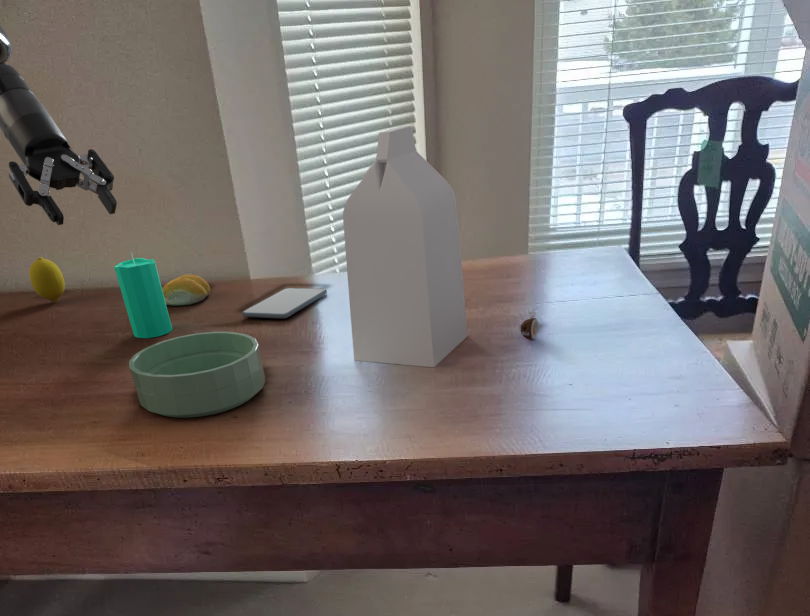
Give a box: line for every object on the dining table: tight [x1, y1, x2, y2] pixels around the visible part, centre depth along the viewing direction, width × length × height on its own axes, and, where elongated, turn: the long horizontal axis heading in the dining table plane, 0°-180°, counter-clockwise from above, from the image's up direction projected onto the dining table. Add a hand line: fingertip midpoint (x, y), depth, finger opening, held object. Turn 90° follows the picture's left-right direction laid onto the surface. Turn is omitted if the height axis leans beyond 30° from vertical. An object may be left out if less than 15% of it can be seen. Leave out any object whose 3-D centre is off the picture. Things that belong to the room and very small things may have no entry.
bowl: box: [128, 331, 266, 419], centre depth 89 cm, size 15×15×6 cm
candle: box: [113, 251, 173, 339], centre depth 111 cm, size 6×6×12 cm
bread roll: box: [162, 274, 211, 307], centre depth 128 cm, size 8×9×4 cm
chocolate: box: [520, 308, 540, 341], centre depth 97 cm, size 3×2×4 cm
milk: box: [342, 125, 469, 368], centre depth 92 cm, size 12×12×26 cm
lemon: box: [28, 256, 66, 303], centre depth 133 cm, size 6×6×8 cm
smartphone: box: [241, 287, 328, 319], centre depth 120 cm, size 8×1×15 cm
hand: (88, 215), depth 112 cm, fingers open, 8 cm apart
